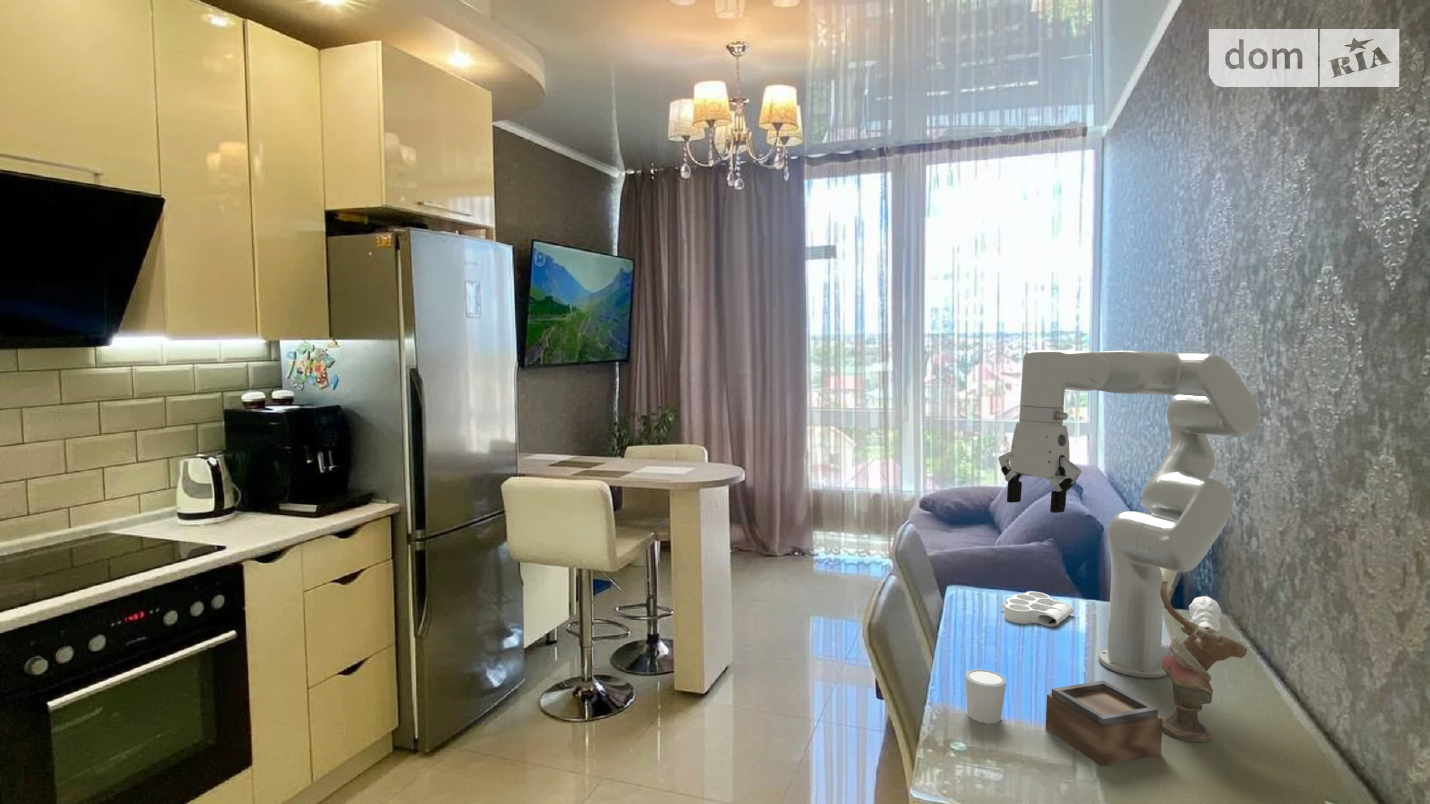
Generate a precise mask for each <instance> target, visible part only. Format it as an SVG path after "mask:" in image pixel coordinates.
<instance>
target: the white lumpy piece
mask: <svg viewBox="0 0 1430 804" xmlns="http://www.w3.org/2000/svg"><path fill="white" fill-rule="evenodd" d="M1188 610H1189V615H1190V617H1191V619H1190V620H1189V621H1190V622H1193V623H1195V624H1197V625H1199V626H1203V627H1210V628H1212V629H1214V630H1215V631H1216V632H1218V633H1220V632H1221V630H1222V629H1221V627H1222V625H1221V623H1220V621H1219V620H1220V617H1221V615H1222V609H1221V607H1220V605H1219V603H1218V602H1217V601H1216V600H1214V599H1213V598H1211V597H1209V596H1205V595H1203V596H1198V597H1195V598H1194V599H1193V600H1192V602H1191V603H1190V604H1189V605H1188Z"/></svg>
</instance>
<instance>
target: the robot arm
mask: <svg viewBox="0 0 1430 804" xmlns="http://www.w3.org/2000/svg"><path fill="white" fill-rule="evenodd" d="M1020 387H1021V389H1020V399H1019V400H1020V402H1019V419H1018V421H1017V422H1016V423H1015V428H1014V431H1013V436H1012V441H1011V446H1010V447H1011V448H1010V451H1009V452H1006V453H1005V454H1002V455H1000V456H998V462H999V465H1000V467H1001V469H1000V470H1001V472H1002V474H1003V475H1004V479H1005V482H1007V491H1006V502H1007V503H1009V504H1010V503H1011V504H1012V503H1019V502H1021V500H1022V489H1023V487H1022V486H1023V483H1022V482H1023V481H1021V478H1022V477H1023V476H1029V477H1034V478H1038V479H1039V478H1040V479H1045V480H1049V482H1050V484H1051V485H1052V487H1053V489H1054V490H1052V491H1051V493H1050V494H1051V495H1050V506H1049V508H1050V509H1049V510H1050V512H1051V513H1052V514H1057V513H1064V512H1065V511H1066V505H1067V501H1066V500H1067V492H1069V491H1070V490H1071V488H1072V487H1073V486H1074V485H1075V484H1077V480H1078V478H1080V475H1081V473H1082V470H1081V469H1080V468H1079V467H1078V466H1077V465H1075V464H1074V463H1073V462H1071V460H1070V459H1071V458H1070V457H1071V456H1070V440H1069V439H1070V437H1069V432H1068V427H1067V425H1063V423H1064V421H1066V420H1068V417H1069V414H1068V413H1067V412H1064V411H1065V408H1064V407H1065V393H1066V390H1068V391H1079V392H1090V391H1100V392H1106V393H1113V394H1125V395H1162V396H1164V395H1167V396H1168V395H1169V396H1172V398H1171V399H1170V400H1169V402H1168V405H1167V409H1166V416H1167V422H1168V426H1169V433H1170V448H1169V450H1168V452H1167V454H1166V455H1165V457H1164V458H1163V460H1162V461H1161V462H1160V464H1159V465H1158V468H1157V469H1156V470H1155V472H1154V473H1153V475H1152V477H1151V478H1150V479H1149V481H1148V482H1147V484H1146V485H1145V487H1144V489H1143V491H1142V493H1141V503H1142V505H1143V507H1144V508H1145V509H1146V510H1147V511H1149V512H1150V513H1146V512H1143V511H1135V510H1134V511H1133V510H1130V511H1128V510H1127V511H1122V512H1120V513H1118V514H1116V515H1115V516H1114V517H1113V518H1112V519H1111V521H1110V522H1109V524H1108V528H1107V542H1108V549H1109V555H1110V564H1111V565H1110V571H1111V573H1110V593H1109V594H1110V595H1109V612H1108V614H1109V615H1108V629H1107V630H1108V631H1107V632H1108V633H1107V648H1106V649H1102V650H1101V651H1099V652H1098V661H1099V663H1100V664H1101V665H1102V666H1104V667H1106V668H1107V669H1109V670H1111V671H1114V672H1116V673H1119V674H1122V675H1126V676H1131V677H1135V678H1136V677H1137V678H1143V679H1157V678H1158V679H1159V678H1164V677H1166V676H1168V675H1167V674H1166V672H1165V671H1164V670H1163V669H1162V667H1161V661H1162V659H1163V658H1164V656H1166V655H1173V653H1172V650H1171V649H1170V644H1167V645H1164V644H1163V645H1162V640H1163V639H1162V638H1163V637H1162V636H1163V621H1164V620H1163V618H1164V606H1165V605H1164V603H1163V601H1162V598H1161V595H1160V590H1161V584H1162V582H1165V581H1164V580H1165V579H1164V576H1163V573H1162V570H1161V568H1162V569H1164V570H1169V571H1173V572H1177V573H1186V572H1190V571H1192V570H1194V569H1195V568H1197V566H1198V565H1199V564H1200V563H1201V562H1202V561H1203V560H1204V558H1205V556H1206V555H1207V554H1208V552H1209V550H1210V549H1211V547H1212V546H1213V544H1214V543H1215V541H1216V540H1217V538H1219V535H1220V534H1221V532H1222V530H1223V529H1224V527H1226V525H1227V522H1228V521H1229V520H1230V517H1231V515H1232V511H1233V495H1232V493H1231V490H1230V489H1229V487H1228V486H1227V485H1226V484H1225V483H1223V482H1221V481H1220V480H1217V479H1215V478H1211V477H1210V475H1211V473H1213V470H1214V468H1215V463H1216V459H1215V453H1214V451H1213V449H1212V446H1211V443H1210V442H1209V438H1208V436H1207V435H1213V436H1220V437H1229V438H1241V437H1242V438H1243V437H1246V436H1248V435H1250V434H1251V433H1253V432H1254V431H1255V430H1256V428H1257V427H1258V426H1259V422H1260V418H1261V417H1260V408H1259V405H1258V403H1257V400H1256V399H1255V397H1254V396H1253V395H1252V393H1251V391H1250V390H1249V389H1248V388H1247V386H1246V385H1245V383H1244V381H1243V380H1242V379H1241V376H1239V374H1238V373H1237V372H1236V370H1235V369H1234V367H1232V365H1231V364H1230V363H1229V362H1228V361H1226V360H1225V358H1224V357H1222V356H1220V355H1218V354H1214V353H1201V352H1199V353H1197V352H1196V353H1193V352H1189V353H1187V352H1165V351H1164V352H1163V351H1162V352H1161V351H1142V350H1141V351H1140V350H1111V351H1090V350H1070V349H1069V350H1067V349H1066V350H1058V349H1057V350H1053V349H1051V350H1048V349H1047V350H1046V349H1034V350H1033V349H1032V350H1031V349H1030V350H1027V352H1025V353H1024V355H1023V359H1022V373H1021V386H1020ZM1151 513H1152V514H1151Z"/></svg>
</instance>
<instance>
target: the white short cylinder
mask: <svg viewBox="0 0 1430 804" xmlns="http://www.w3.org/2000/svg"><path fill="white" fill-rule="evenodd" d="M964 676H965V677H964V680H965V692H966V694H965V696H966V709H967V710H966V712H967V713H966V714H967V715H969V716H968V717H969V718H970V717H971V718H970V719H972V720H973V719H975V720H977V721H976V722H979V723H982V722H986V723H985V724H995V723H994V722H997V723H999V722H1000V720H1001V721H1002V713H1003V707H1004V701H1005V693H1006V686H1007V685H1006V684H1007V679H1006V678H1005V676H1003V675H1002V674H1000V673H999V672H995V671H992V670H987V669H972V670H969V671H967V672H965V675H964ZM975 720H974V721H975ZM987 722H988V723H987Z"/></svg>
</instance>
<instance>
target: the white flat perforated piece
mask: <svg viewBox="0 0 1430 804" xmlns="http://www.w3.org/2000/svg"><path fill="white" fill-rule="evenodd" d="M1005 601H1006V602H1003V603H1002V604H999V606H1000V607H1002V608H1003V617H1004V619H1005V620H1007V621H1009V622H1012V623H1014V624H1015V623H1017V624H1031V623H1034V624H1040V625H1043V626H1047V627H1055V626H1058V625H1059V623H1061V622H1063V621H1064V620H1066V618H1068V617H1069V616H1070V615H1072V614H1074V608H1073V606H1072V605H1070V604H1069V603H1067V602H1064V601H1062V600H1057V599H1053V598H1051V596H1050V595H1049V594H1046V593H1045V592H1040V591H1039V592H1038V591H1032V590H1031V591H1025V593H1016V594H1012V596H1011V597H1009V598H1008V597H1007V598H1006V600H1005ZM1053 619H1054V620H1055V621H1053V622H1052V623H1050V622H1051V621H1052V620H1053Z"/></svg>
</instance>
